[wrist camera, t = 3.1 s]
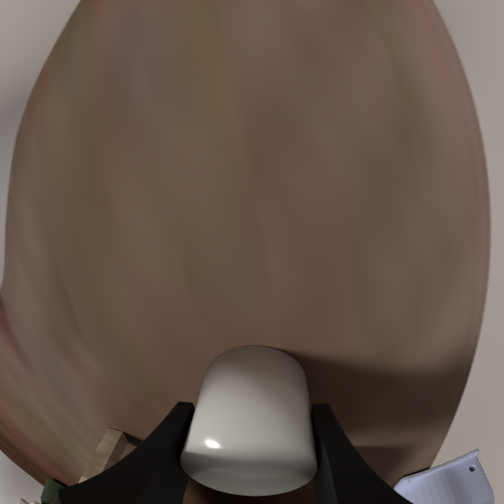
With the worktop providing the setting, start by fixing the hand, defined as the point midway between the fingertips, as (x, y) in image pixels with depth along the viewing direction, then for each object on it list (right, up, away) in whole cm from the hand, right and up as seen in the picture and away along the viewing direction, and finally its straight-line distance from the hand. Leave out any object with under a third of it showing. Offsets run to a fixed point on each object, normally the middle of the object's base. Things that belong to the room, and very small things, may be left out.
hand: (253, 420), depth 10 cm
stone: (0, +1, +2) cm, 2 cm away
